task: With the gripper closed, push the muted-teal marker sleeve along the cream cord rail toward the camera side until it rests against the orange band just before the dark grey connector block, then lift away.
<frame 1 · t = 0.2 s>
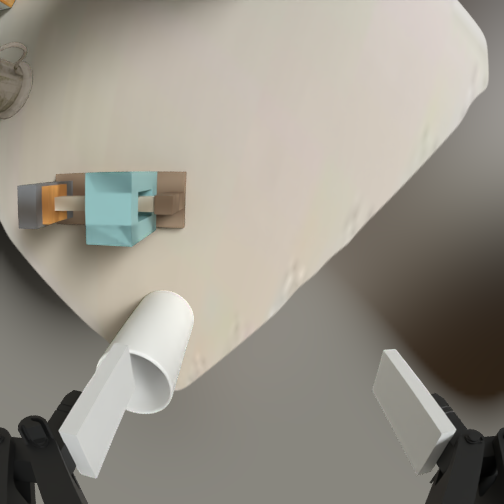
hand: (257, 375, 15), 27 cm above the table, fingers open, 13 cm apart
marker sleeve: (123, 204, 32), point 8 cm above the table, slide at 0.0 cm
cup: (165, 316, 43), on the table
mug: (21, 83, 34), on the table
cord rail: (116, 198, 39), on the table
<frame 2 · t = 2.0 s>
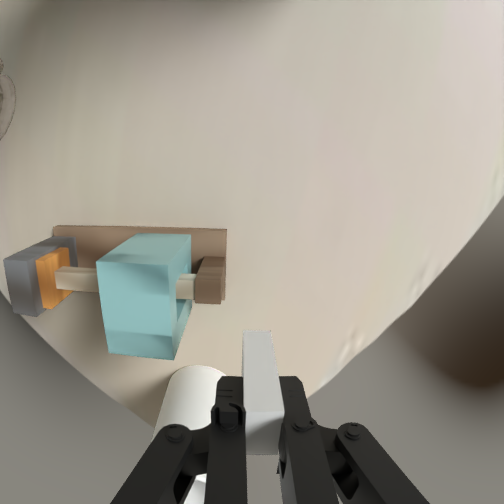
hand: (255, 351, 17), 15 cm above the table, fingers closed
marker sleeve: (151, 288, 24), point 8 cm above the table, slide at 0.0 cm
cup: (201, 390, 36), on the table
mug: (2, 102, 26), on the table
cord rail: (134, 259, 31), on the table
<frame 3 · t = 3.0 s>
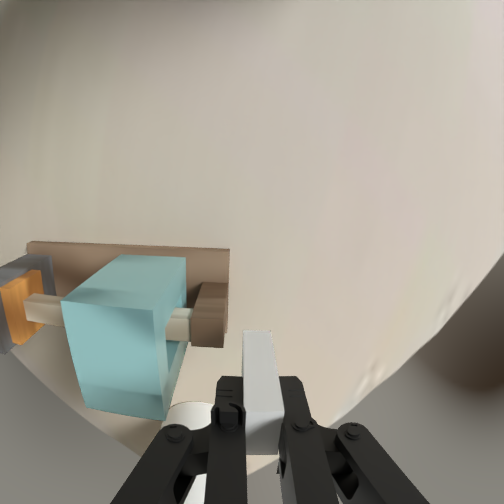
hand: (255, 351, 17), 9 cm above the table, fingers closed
marker sleeve: (137, 327, 19), point 8 cm above the table, slide at 0.0 cm
cup: (200, 426, 30), on the table
cord rail: (120, 283, 26), on the table
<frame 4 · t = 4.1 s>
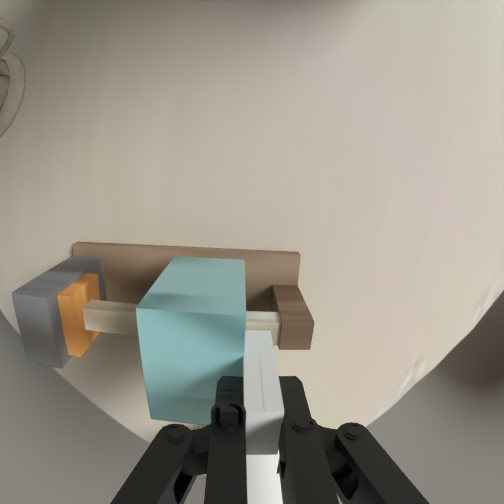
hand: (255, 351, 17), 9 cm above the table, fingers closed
marker sleeve: (201, 332, 19), point 8 cm above the table, slide at 1.3 cm, touching gripper
cup: (250, 428, 31), on the table
mug: (8, 87, 21), on the table
cord rail: (180, 287, 26), on the table
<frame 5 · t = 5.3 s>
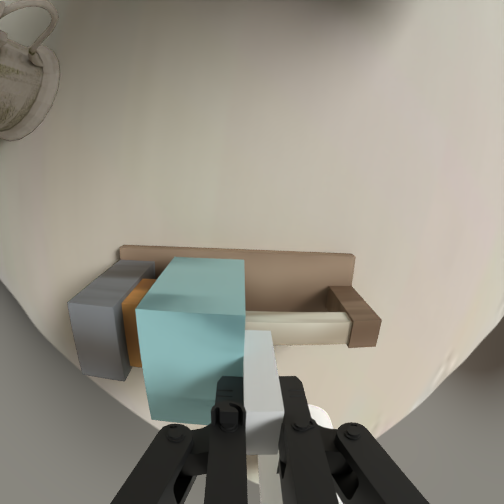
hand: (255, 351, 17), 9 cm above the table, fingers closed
marker sleeve: (201, 333, 19), point 8 cm above the table, slide at 6.0 cm, touching gripper
cup: (293, 428, 31), on the table
mug: (39, 80, 21), on the table
cord rail: (235, 290, 26), on the table
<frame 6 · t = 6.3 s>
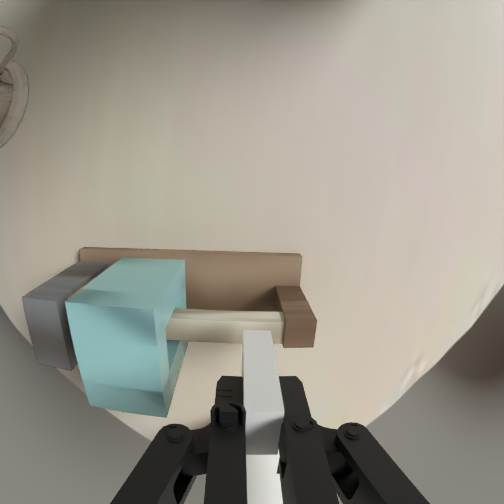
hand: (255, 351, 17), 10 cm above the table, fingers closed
marker sleeve: (138, 328, 19), point 8 cm above the table, slide at 6.0 cm
cup: (255, 428, 31), on the table
mug: (11, 95, 22), on the table
cord rail: (185, 290, 27), on the table
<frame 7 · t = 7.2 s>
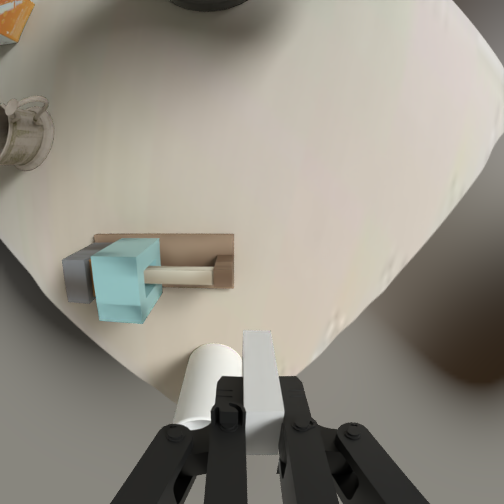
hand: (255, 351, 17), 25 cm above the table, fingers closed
marker sleeve: (130, 276, 34), point 7 cm above the table, slide at 6.0 cm
cup: (215, 365, 45), on the table
mug: (41, 131, 36), on the table
small box: (16, 24, 31), on the table
cord rail: (162, 259, 41), on the table
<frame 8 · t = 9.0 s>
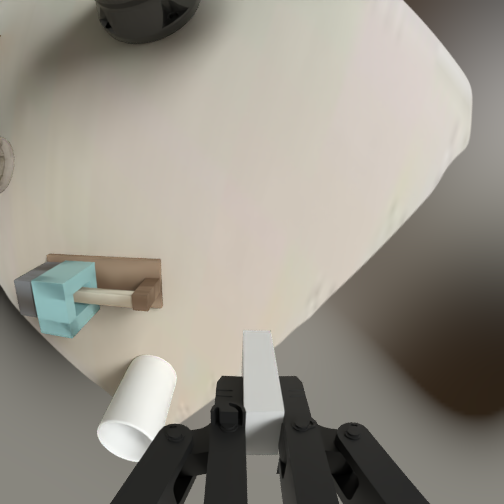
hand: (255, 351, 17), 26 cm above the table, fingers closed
marker sleeve: (67, 296, 36), point 7 cm above the table, slide at 6.0 cm
cup: (152, 374, 48), on the table
mug: (4, 160, 38), on the table
cord rail: (102, 279, 43), on the table
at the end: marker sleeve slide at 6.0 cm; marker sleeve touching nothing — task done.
